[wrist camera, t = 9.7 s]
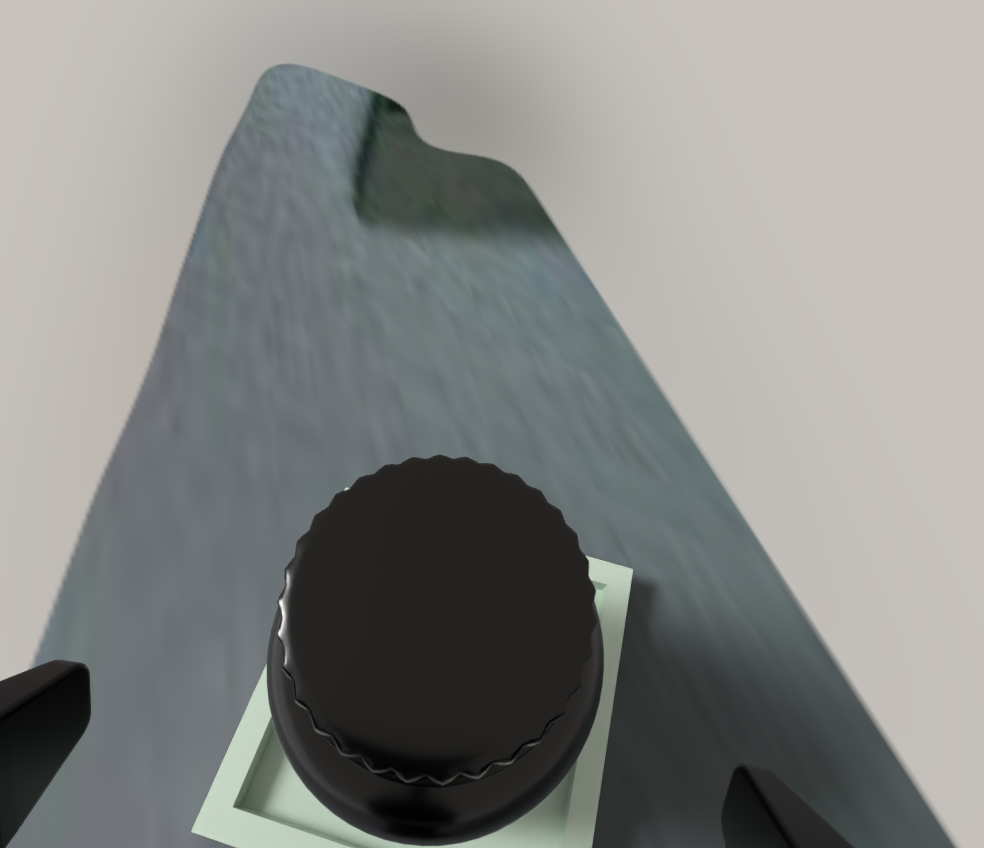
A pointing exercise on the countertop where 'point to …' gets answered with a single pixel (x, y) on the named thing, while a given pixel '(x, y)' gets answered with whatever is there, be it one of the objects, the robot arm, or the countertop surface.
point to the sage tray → (335, 844)
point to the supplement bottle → (435, 652)
